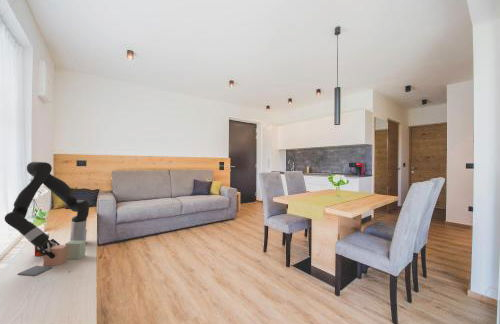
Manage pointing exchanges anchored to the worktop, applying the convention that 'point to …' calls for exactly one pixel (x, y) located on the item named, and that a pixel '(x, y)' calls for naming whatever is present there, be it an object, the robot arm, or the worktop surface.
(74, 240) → the robot arm
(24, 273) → the felt coaster
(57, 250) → the salmon orange block
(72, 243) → the sage green block
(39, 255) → the paper cup
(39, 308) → the worktop surface
